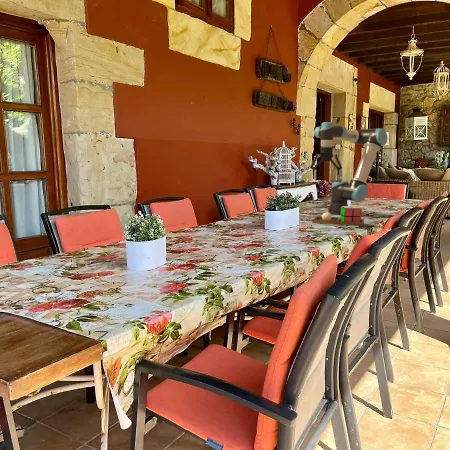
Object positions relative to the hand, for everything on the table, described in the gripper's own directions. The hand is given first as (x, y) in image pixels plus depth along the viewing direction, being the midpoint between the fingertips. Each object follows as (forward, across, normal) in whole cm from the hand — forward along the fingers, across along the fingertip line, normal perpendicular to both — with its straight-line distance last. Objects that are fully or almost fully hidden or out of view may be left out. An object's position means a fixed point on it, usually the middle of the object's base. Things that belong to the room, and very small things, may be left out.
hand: (325, 179), depth 278 cm
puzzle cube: (+25, +17, -17) cm, 35 cm away
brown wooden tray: (+26, +10, -16) cm, 32 cm away
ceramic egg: (+25, +3, -16) cm, 30 cm away
